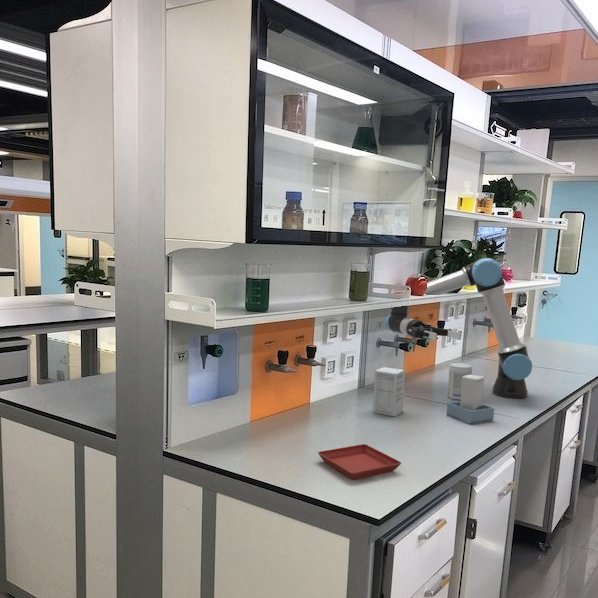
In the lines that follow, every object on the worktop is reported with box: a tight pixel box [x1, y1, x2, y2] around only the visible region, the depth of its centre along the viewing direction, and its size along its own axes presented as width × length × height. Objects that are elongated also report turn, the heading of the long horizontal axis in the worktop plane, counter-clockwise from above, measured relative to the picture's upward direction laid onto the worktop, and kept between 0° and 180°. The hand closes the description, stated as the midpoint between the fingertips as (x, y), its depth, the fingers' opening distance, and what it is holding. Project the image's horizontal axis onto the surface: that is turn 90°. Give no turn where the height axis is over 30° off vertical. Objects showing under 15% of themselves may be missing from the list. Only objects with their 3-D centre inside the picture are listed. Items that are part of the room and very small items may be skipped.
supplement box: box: [372, 366, 406, 417], centre depth 228 cm, size 10×9×17 cm
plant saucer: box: [317, 443, 402, 480], centre depth 171 cm, size 18×18×3 cm
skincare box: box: [459, 374, 485, 411], centre depth 225 cm, size 8×7×16 cm
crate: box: [446, 400, 495, 425], centre depth 225 cm, size 12×12×5 cm
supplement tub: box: [447, 362, 473, 401], centre depth 255 cm, size 10×10×15 cm
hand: (448, 336), depth 236 cm, fingers open, 13 cm apart
